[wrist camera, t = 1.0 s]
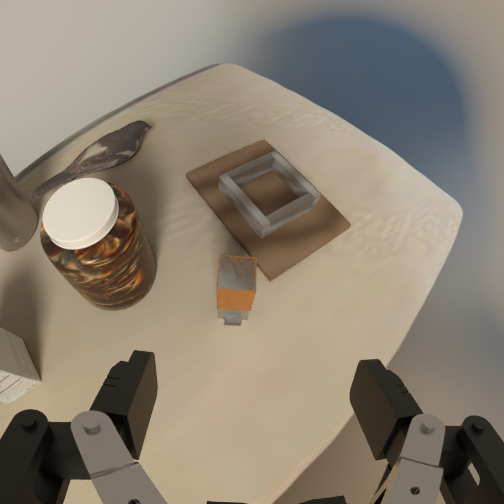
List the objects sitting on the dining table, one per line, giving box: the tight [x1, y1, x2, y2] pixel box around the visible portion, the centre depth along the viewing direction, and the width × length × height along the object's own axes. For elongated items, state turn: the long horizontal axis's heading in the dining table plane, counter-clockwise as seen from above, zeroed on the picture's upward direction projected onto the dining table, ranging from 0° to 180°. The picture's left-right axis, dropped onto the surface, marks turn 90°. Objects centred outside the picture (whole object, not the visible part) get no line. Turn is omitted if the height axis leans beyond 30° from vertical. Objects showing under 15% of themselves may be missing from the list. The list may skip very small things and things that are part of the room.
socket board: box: [186, 140, 351, 281], centre depth 47 cm, size 22×16×4 cm
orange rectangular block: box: [217, 255, 257, 326], centre depth 36 cm, size 5×4×10 cm
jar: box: [40, 178, 156, 310], centre depth 34 cm, size 12×12×15 cm
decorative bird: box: [33, 121, 151, 198], centre depth 47 cm, size 6×25×5 cm, turn 139°
